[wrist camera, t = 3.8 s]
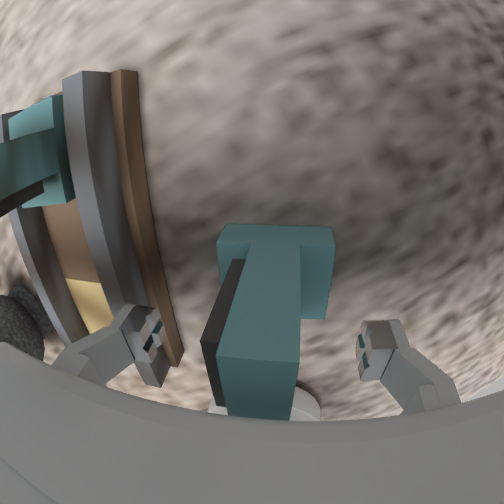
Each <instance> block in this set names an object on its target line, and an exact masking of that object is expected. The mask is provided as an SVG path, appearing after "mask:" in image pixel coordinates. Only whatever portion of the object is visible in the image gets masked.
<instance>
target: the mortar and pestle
mask: <svg viewBox="0 0 504 504" xmlns="http://www.w3.org/2000/svg"><path fill="white" fill-rule="evenodd" d="M51 329H52V325H51V322H50V320H49V317H48V315H47V313H46V311H45V310H44V309H43V307H42V306H41V305H40V303H39V302H38V300H37V299H36V298H35V297H34V296H33V295H32V294H31V293H30V292H28V291H27V290H26V289H25V288H24V287H18V286H15V287H14V288H13V289H12V290H11V291H10V293H9V295H8V296H4V295H0V342H6V343H8V344H10V345H12V346H14V347H15V348H17V349H19V350H21V351H23V352H25V353H27V354H28V355H30V356H32V357H34V358H36V359H39V360H41V361H43V358H44V350H45V348H44V342H43V339H45V338H46V337H47V336H48V335H49V334H50V331H51Z"/></svg>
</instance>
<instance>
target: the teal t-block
mask: <svg viewBox="0 0 504 504" xmlns="http://www.w3.org/2000/svg"><path fill="white" fill-rule="evenodd" d="M216 244H217V254H218V264H219V274H220V283H221V289H220V291H219V294H218V296H217V299H216V301H215V304H214V306H213V309H212V311H211V314H210V316H209V319H208V321H207V324H206V327H205V329H204V332H203V334H202V337H201V339H200V343H201V347H202V352H203V356H204V360H205V364H206V368H207V372H208V376H209V380H210V384H211V388H212V392H213V396H214V399H215V403H216V406H219V407H226V409H227V413H228V415H230V416H238V417H246V418H257V419H270V420H288V421H289V420H290V415H291V409H292V404H293V398H294V393H295V387H296V381H297V374H298V368H299V359H300V319H325V315H326V309H327V303H328V297H329V291H330V285H331V278H332V271H333V264H334V257H335V249H336V246H335V242H334V238H333V235H332V231H331V227H313V226H290V225H262V224H226V225H225V227H224V229H223V231H222V232H221V234H220V236H219V238H218V239H217V241H216Z"/></svg>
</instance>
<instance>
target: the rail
mask: <svg viewBox="0 0 504 504" xmlns="http://www.w3.org/2000/svg"><path fill="white" fill-rule="evenodd" d="M62 86H63V91H62V92H60V93H58V94H55V95H53V96H50V97H48V98H46V99H44V100H42V101H40V102H38V103H36V104H34V105H32V106H30V107H29V108H27V109H24V110H19V111H15V112H10V113H6V114H2V115H0V217H2V216H4V215H5V214H7V213H8V214H9V217H10V221H11V224H12V228H13V231H14V234H15V237H16V240H17V243H18V246H19V249H20V252H21V255H22V257H23V260H24V263H25V265H26V268H27V270H28V273H29V275H30V278H31V280H32V282H33V285H34V287H35V289H36V291H37V294H38V296H39V298H40V300H41V302H42V304H43V306H44V308H45V310H46V312H47V314H48V316H49V318H50V320H51V322H52V324H53V326H54V327H55V329H56V331H57V333H58V335H59V336H60V338H61V340H62V342H63V343H64V345H65V347H67V346H68V345H70V344H72V343H74V342H76V341H78V340H80V339H82V338H84V337H86V336H88V335H90V334H92V333H94V332H95V331H97V330H99V329H101V328H103V327H105V326H106V327H108V326H109V325H110V324H111V322H112V321H113V320H114V318H115V317H116V316H117V314H118V313H119V311H120V310H121V309H122V307H123V306H124V305H125V304H133V305H141V306H147V307H153V308H157V309H159V311H160V314H161V317H160V318H159V320H160V321H161V322H162V323H163V324H164V327H165V337H164V341H163V343H162V345H160V346H159V347H157V351H158V353H157V355H156V357H155V359H154V361H153V363H147V362H141V361H136V360H135V361H134V363H135V365H136V367H137V369H138V371H139V373H140V375H141V377H142V379H143V381H144V383H145V384H147V385H151V386H155V387H159V388H161V387H162V384H163V382H164V380H165V377H166V375H167V373H168V371H169V368H170V366H173V367H178V365H179V363H180V361H181V358H182V356H183V353H184V350H183V347H182V343H181V340H180V336H179V333H178V329H177V325H176V322H175V318H174V314H173V310H172V307H171V303H170V299H169V295H168V290H167V286H166V282H165V278H164V273H163V269H162V264H161V259H160V255H159V250H158V245H157V240H156V234H155V229H154V223H153V218H152V212H151V206H150V199H149V193H148V186H147V179H146V171H145V163H144V155H143V146H142V136H141V125H140V112H139V95H138V72H136V71H129V70H121V69H120V70H117V71H114V72H111V73H110V72H96V71H81V72H78V73H76V74H74V75H72V76H69V77H67V78H65V79H63V80H62Z"/></svg>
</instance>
